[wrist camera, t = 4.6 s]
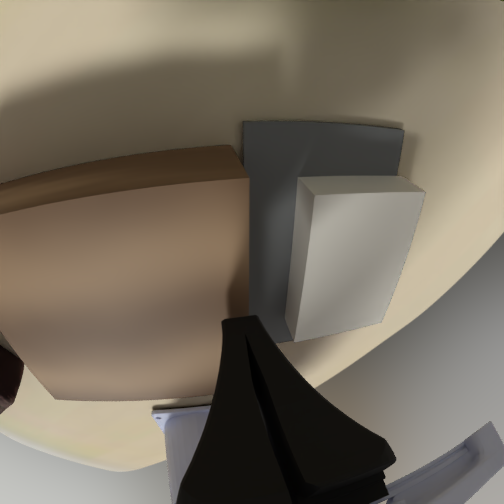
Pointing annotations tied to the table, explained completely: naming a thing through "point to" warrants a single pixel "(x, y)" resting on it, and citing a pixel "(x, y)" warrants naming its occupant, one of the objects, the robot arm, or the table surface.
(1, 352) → the diary
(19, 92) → the table surface
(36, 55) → the table surface
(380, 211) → the off-white rectangular block
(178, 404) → the table surface
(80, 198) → the brown shallow square box
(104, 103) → the table surface
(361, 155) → the mat
